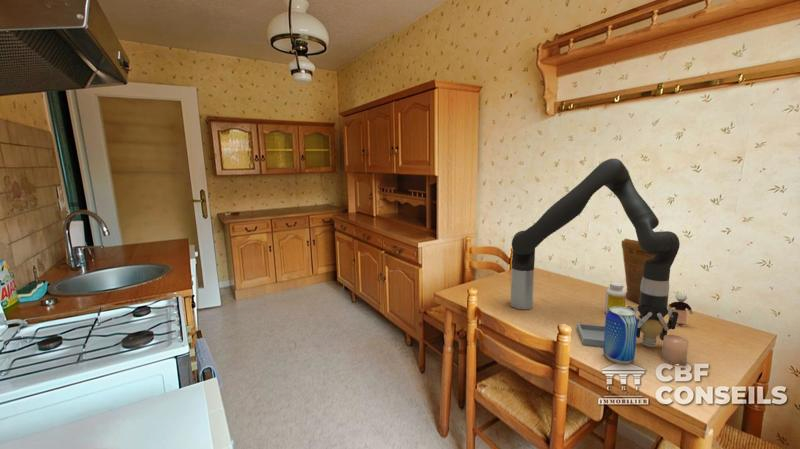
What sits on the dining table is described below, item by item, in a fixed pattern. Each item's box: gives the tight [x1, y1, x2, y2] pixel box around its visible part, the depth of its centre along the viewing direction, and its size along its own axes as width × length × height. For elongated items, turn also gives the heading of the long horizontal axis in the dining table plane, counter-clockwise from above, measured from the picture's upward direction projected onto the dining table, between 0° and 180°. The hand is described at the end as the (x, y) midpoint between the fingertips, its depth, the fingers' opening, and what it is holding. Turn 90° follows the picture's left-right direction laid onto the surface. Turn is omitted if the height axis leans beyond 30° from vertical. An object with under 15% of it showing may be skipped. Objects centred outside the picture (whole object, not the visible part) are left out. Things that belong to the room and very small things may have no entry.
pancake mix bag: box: [621, 238, 656, 305], centre depth 149 cm, size 7×19×28 cm, turn 16°
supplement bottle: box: [604, 281, 626, 314], centre depth 140 cm, size 7×7×13 cm
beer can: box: [602, 307, 638, 365], centre depth 109 cm, size 8×8×16 cm
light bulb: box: [640, 320, 663, 348], centre depth 116 cm, size 6×6×10 cm
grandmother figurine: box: [667, 292, 694, 328], centre depth 130 cm, size 8×4×13 cm, turn 71°
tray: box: [576, 322, 605, 348], centre depth 122 cm, size 12×12×2 cm
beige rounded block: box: [661, 334, 689, 366], centre depth 107 cm, size 6×6×7 cm
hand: (649, 337), depth 116 cm, fingers closed on light bulb, 6 cm apart
